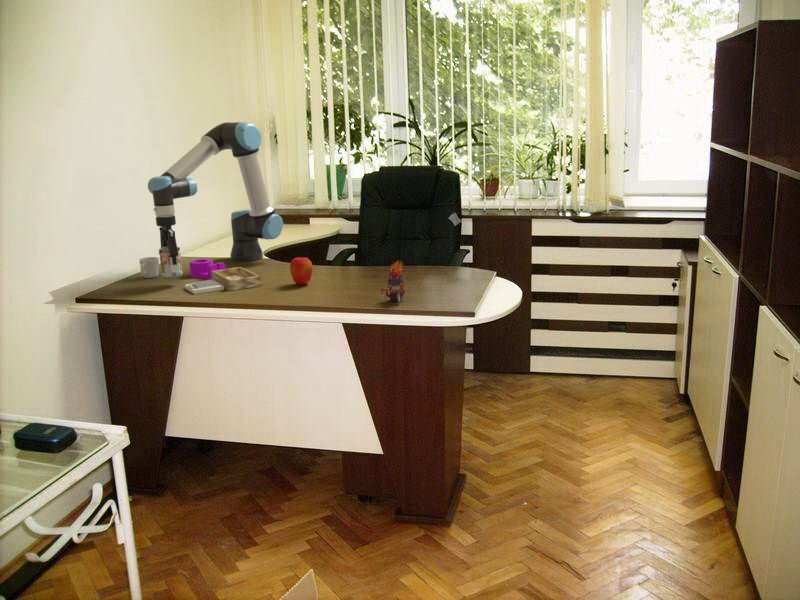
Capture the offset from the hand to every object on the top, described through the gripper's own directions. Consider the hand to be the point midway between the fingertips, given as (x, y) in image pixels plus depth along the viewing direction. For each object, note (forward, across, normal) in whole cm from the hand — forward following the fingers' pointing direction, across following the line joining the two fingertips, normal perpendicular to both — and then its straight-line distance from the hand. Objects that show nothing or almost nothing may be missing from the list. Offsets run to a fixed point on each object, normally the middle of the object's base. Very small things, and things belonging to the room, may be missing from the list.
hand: (171, 270), depth 321 cm
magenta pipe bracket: (+7, -9, +17) cm, 21 cm away
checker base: (+6, +14, +8) cm, 18 cm away
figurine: (+7, +76, +60) cm, 97 cm away
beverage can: (+3, 0, 0) cm, 3 cm away
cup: (+7, -21, -5) cm, 22 cm away
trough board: (+7, +12, +22) cm, 26 cm away
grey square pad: (+5, +14, +8) cm, 17 cm away
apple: (+7, +31, +43) cm, 54 cm away
